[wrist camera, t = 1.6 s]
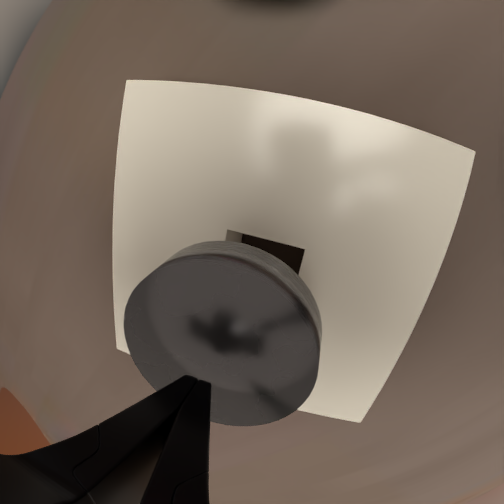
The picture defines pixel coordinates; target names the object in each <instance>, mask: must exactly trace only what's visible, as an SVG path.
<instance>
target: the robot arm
mask: <svg viewBox="0 0 504 504" xmlns="http://www.w3.org/2000/svg"><path fill="white" fill-rule="evenodd" d="M211 389H212V384H211V383H210V382H207V381H204V380H201V379H200V380H198V379H197V378H195V377H193V376H190V375H184V376H182V377H180V378H179V379H177V380H175V381H174V382H172V383H170V384H169V385H167V386H165V387H164V388H162V389H160V390H158V391H157V392H155V393H153V394H152V395H150V396H148V397H146V398H145V399H143V400H141V401H139V402H138V403H136V404H134V405H132V406H131V407H129V408H127V409H125V410H123V411H122V412H120V413H118V414H116V415H114V416H113V417H111V418H109V419H107V420H105V421H103V422H102V423H100V424H99V425H96V426H94V427H92V428H90V429H88V430H86V431H84V432H82V433H80V434H78V435H76V436H73V437H71V438H68V439H66V440H63V441H61V442H58V443H55V444H52V445H49V446H46V447H44V448H41V449H37V450H34V451H32V452H28V453H24V454H19V455H3V454H0V504H139V503H140V504H209V485H208V483H209V473H208V472H209V440H210V412H211Z"/></svg>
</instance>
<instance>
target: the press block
mask: <svg viewBox="0 0 504 504" xmlns="http://www.w3.org/2000/svg"><path fill="white" fill-rule="evenodd" d="M474 157H475V151H473V150H471V149H468V148H466V147H463V146H461V145H459V144H456V143H454V142H451V141H448V140H446V139H443V138H441V137H438V136H435V135H433V134H430V133H427V132H424V131H421V130H418V129H416V128H413V127H410V126H407V125H404V124H400V123H397V122H394V121H391V120H388V119H384V118H381V117H378V116H374V115H371V114H367V113H363V112H360V111H356V110H352V109H348V108H344V107H340V106H336V105H332V104H328V103H323V102H319V101H314V100H310V99H305V98H300V97H295V96H289V95H284V94H278V93H272V92H266V91H260V90H253V89H246V88H239V87H231V86H222V85H213V84H203V83H190V82H176V81H155V80H127V82H126V88H125V94H124V100H123V107H122V114H121V122H120V130H119V139H118V149H117V160H116V172H115V186H114V205H113V247H112V256H113V298H114V317H115V331H116V343H117V349H119V350H121V351H124V352H126V353H128V354H130V352H129V349H128V347H127V343H126V339H125V334H124V313H125V307H126V304H127V302H128V299H129V297H130V295H131V293H132V292H133V290H134V289H135V287H136V286H137V285H138V284H139V283H140V282H141V281H142V280H143V279H144V278H145V277H147V276H148V275H149V274H150V273H152V272H153V271H154V270H155V269H156V268H158V267H159V266H160V265H161V264H163V263H164V262H165V261H166V260H167V259H169V258H170V257H171V256H172V255H174V254H175V253H176V252H178V251H180V250H182V249H184V248H186V247H188V246H191V245H194V244H197V243H202V242H206V241H233V242H238V243H241V241H242V235H243V233H244V234H248V235H251V236H255V237H259V238H263V239H267V240H271V241H275V242H279V243H283V244H287V245H291V246H294V247H298V248H302V249H305V251H304V255H303V259H302V262H301V266H300V270H299V274H298V276H299V277H300V278H301V279H302V280H303V281H304V283H305V284H306V285H307V287H308V288H309V290H310V291H311V293H312V295H313V297H314V299H315V301H316V303H317V306H318V309H319V311H320V316H321V321H322V340H321V350H320V360H319V369H318V376H317V380H316V383H315V386H314V389H313V390H312V392H311V394H310V396H309V397H308V398H307V400H306V401H305V402H304V403H303V404H302V405H301V406H300V407H299V408H298V409H297V410H300V411H305V412H309V413H314V414H318V415H323V416H327V417H332V418H337V419H342V420H348V421H353V422H359V423H360V422H361V421H362V419H363V418H364V416H365V415H366V413H367V411H368V410H369V408H370V407H371V405H372V403H373V402H374V400H375V399H376V397H377V395H378V394H379V392H380V390H381V389H382V387H383V385H384V383H385V382H386V380H387V378H388V376H389V375H390V373H391V371H392V369H393V367H394V366H395V364H396V362H397V360H398V358H399V356H400V354H401V353H402V351H403V349H404V347H405V345H406V343H407V341H408V339H409V337H410V335H411V333H412V331H413V329H414V327H415V325H416V323H417V320H418V318H419V316H420V314H421V312H422V310H423V307H424V305H425V303H426V301H427V298H428V296H429V294H430V291H431V289H432V287H433V284H434V282H435V279H436V277H437V274H438V272H439V269H440V267H441V264H442V262H443V259H444V256H445V254H446V251H447V248H448V245H449V243H450V240H451V237H452V234H453V231H454V228H455V225H456V222H457V219H458V216H459V212H460V209H461V206H462V203H463V199H464V196H465V192H466V189H467V185H468V181H469V177H470V173H471V169H472V165H473V161H474Z"/></svg>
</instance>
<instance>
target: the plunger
mask: <svg viewBox="0 0 504 504" xmlns="http://www.w3.org/2000/svg"><path fill="white" fill-rule="evenodd" d="M124 334H125V339H126V343H127V347H128V349H129V352H130V355H131V357H132V359H133V361H134V363H135V364H136V366H137V368H138V369H139V371H140V372H141V374H142V375H143V376H144V378H145V379H146V380H147V381H148V382H149V383H150V385H151V386H152V387H153V388H154V389H155V390H156V391H158V390H160V389H162V388H164V387H165V386H167V385H169V384H170V383H172V382H174V381H175V380H177V379H179V378H180V377H182V376H184V375H190V376H193V377H195V378H197V379H198V380H200V379H201V380H204V381H207V382H210V383H211V384H212V389H211V412H210V421H211V422H215V423H220V424H224V425H232V426H256V425H262V424H267V423H271V422H274V421H277V420H280V419H282V418H284V417H286V416H288V415H289V414H291V413H293V412H294V411H296V410H297V409H298V408H299V407H300V406H301V405H302V404H303V403H304V402H305V401H306V400H307V398H308V397H309V396H310V394H311V392H312V390H313V389H314V386H315V383H316V380H317V376H318V369H319V360H320V350H321V340H322V321H321V316H320V311H319V309H318V306H317V303H316V301H315V299H314V297H313V295H312V293H311V291H310V290H309V288H308V287H307V285H306V284H305V283H304V281H303V280H302V279H301V278H300V277H299V276H298V275H297V274H296V273H295V272H294V270H292V269H291V268H290V267H289V266H288V265H286V264H285V263H284V262H283V261H281V260H279V259H278V258H276V257H275V256H273V255H271V254H270V253H267V252H265V251H263V250H261V249H259V248H256V247H253V246H250V245H247V244H243V243H238V242H233V241H206V242H202V243H197V244H194V245H191V246H188V247H186V248H184V249H182V250H180V251H178V252H176V253H175V254H174V255H172V256H171V257H170V258H169V259H167V260H166V261H165V262H164V263H163V264H161V265H160V266H159V267H158V268H156V269H155V270H154V271H153V272H152V273H150V274H149V275H148V276H147V277H145V278H144V279H143V280H142V281H141V282H140V283H139V284H138V285H137V286H136V287H135V289H134V290H133V292H132V293H131V295H130V297H129V299H128V302H127V304H126V307H125V313H124Z"/></svg>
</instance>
